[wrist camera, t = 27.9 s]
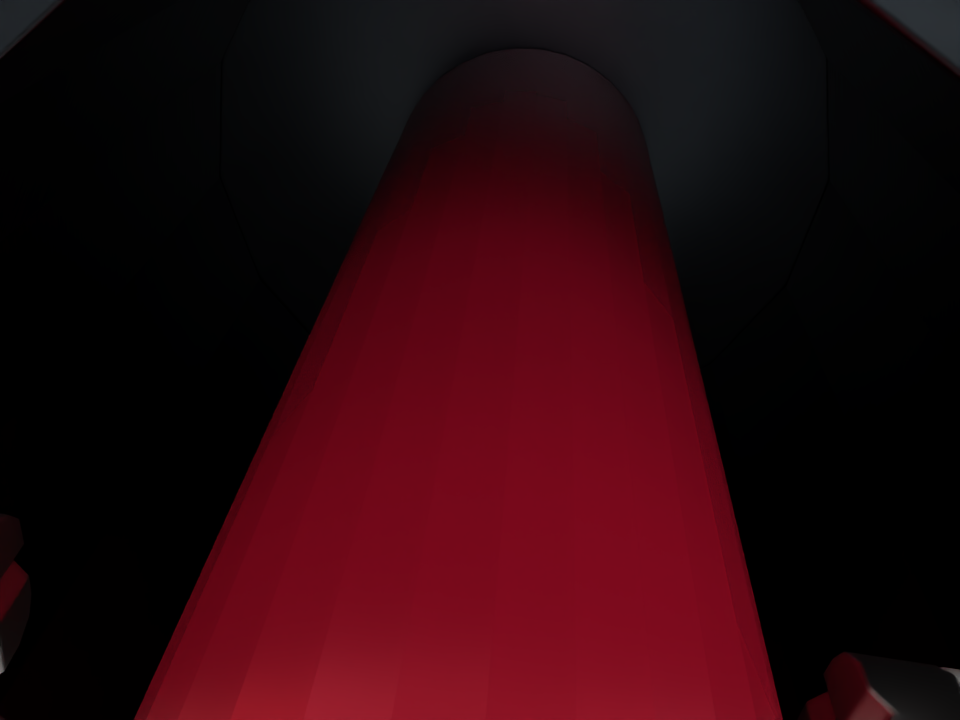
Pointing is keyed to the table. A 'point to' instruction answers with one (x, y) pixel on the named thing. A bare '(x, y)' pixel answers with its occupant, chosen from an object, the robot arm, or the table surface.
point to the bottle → (487, 450)
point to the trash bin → (333, 225)
